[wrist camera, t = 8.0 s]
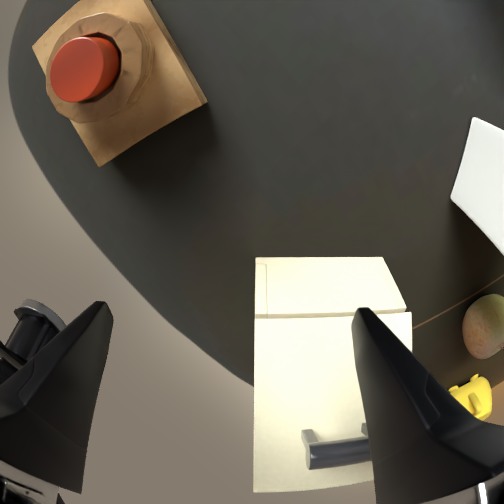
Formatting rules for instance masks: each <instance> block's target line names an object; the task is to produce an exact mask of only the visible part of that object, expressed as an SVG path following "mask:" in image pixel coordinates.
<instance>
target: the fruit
mask: <svg viewBox="0 0 504 504" xmlns="http://www.w3.org/2000/svg"><path fill="white" fill-rule="evenodd" d="M462 331H463V339H464V342H465V345H466V347H467V349H468V351H469V352H470V354H471V355H473V356H474V357H475V358H478V359H486V358H488V357H490V356H492V355H494V354H495V353H496V352H498V351H499V350H500V349H503V348H502V347H504V297H503V296H500V295H497V294H490V295H486V296H483V297H481V298H479V299H478V300H477V301H475V302H474V303H473V304H472V305H471V306H470V307H469V308H468V310H467V312H466V314H465V316H464V320H463V327H462ZM503 350H504V349H503Z"/></svg>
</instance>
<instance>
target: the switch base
mask: <svg viewBox="0 0 504 504" xmlns="http://www.w3.org/2000/svg"><path fill="white" fill-rule="evenodd" d="M79 37H95V38H103V39H106V40H108V41H109V42H111V43H112V44H113V45H114V47H115V48H116V50H117V53H118V57H119V68H118V72H117V75H116V77H115V79H114V81H113V83H112V84H111V86H110V87H109V88H108V89H107V90H106V91H105V92H103V93H102V94H100V95H98V96H96V97H93V98H89V99H86V100H83V101H80V102H76V103H69V102H66V101H63V100H61V99H60V98H59V97H58V96H57V95H56V94H55V93H54V91H53V89H52V87H51V83H50V68H51V64H52V61H53V59H54V57H55V55H56V54H57V52H58V51H59V49H60V48H61V47H62V46H63V45H65V44H66V43H67V42H69V41H70V40H72V39H75V38H79ZM32 48H33V50H34V52H35V55H36V57H37V59H38V61H39V63H40V65H41V67H42V69H43V71H44V73H45V75H46V90H47V94H48V95H49V97H50V99H51V101H52V103H53V105H54V106H55V108H56V110H57V112H58V113H60V114H61V115H63V116H65V117H67V118H69V119H70V121H71V122H72V124H73V126H74V127H75V129H76V131H77V132H78V134H79V136H80V137H81V139H82V141H83V142H84V144H85V146H86V147H87V149H88V151H89V152H90V154H91V155H92V157H93V159H94V160H95V162H96V163H97V165H98V166H99V168H100V167H102V166H103V165H104V164H106V163H107V162H109V161H110V160H112V159H113V158H114V157H116V156H117V155H119V154H120V153H122V152H123V151H125V150H126V149H128V148H129V147H131V146H132V145H134V144H136V143H137V142H139V141H140V140H142V139H144V138H145V137H147V136H148V135H150V134H152V133H153V132H155V131H157V130H158V129H160V128H162V127H163V126H165V125H167V124H169V123H170V122H172V121H174V120H176V119H178V118H179V117H181V116H183V115H185V114H187V113H189V112H190V111H192V110H194V109H196V108H198V107H200V106H202V105H203V104H205V103H206V102H207V100H206V98H205V96H204V94H203V92H202V90H201V89H200V87H199V85H198V83H197V81H196V80H195V78H194V76H193V74H192V72H191V71H190V69H189V67H188V65H187V63H186V62H185V60H184V58H183V56H182V54H181V53H180V51H179V49H178V47H177V46H176V44H175V42H174V40H173V39H172V37H171V35H170V33H169V32H168V30H167V28H166V27H165V25H164V23H163V21H162V20H161V18H160V16H159V15H158V13H157V11H156V10H155V8H154V6H153V4H152V3H151V1H150V0H80V1H79V2H78V3H77V4H76V5H74V6H73V7H72V8H71V9H70V10H69V11H68V12H66V13H65V14H64V15H63V16H62V17H61V18H60V19H59V20H58V21H57V22H56V23H55V24H54V25H53V26H52V27H51V28H50V29H49V30H48V31H47V32H46V33H45V34H44V35H43V36H42V37H41V38H40V39H39V40H38V41H37V42H36V43H35V44H34V46H33V47H32Z"/></svg>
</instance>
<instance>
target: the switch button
mask: <svg viewBox="0 0 504 504" xmlns="http://www.w3.org/2000/svg"><path fill="white" fill-rule="evenodd" d="M118 68H119V57H118V53H117V50H116V48H115V47H114V45H113V44H112V43H111V42H109V41H108V40H106V39H103V38H95V37H79V38H75V39H72V40H70V41H69V42H67V43H66V44H65V45H63V46H62V47H61V48H60V49H59V51H58V52H57V54H56V55H55V57H54V59H53V61H52V64H51V68H50V83H51V87H52V89H53V91H54V93H55V94H56V95H57V96H58V97H59V98H60V99H61V100H63V101H66V102H69V103H76V102H80V101H83V100H86V99H89V98H93V97H96V96H98V95H100V94H102V93H103V92H105V91H106V90H107V89H108V88H109V87H110V86H111V84H112V83H113V81H114V79H115V77H116V75H117V72H118Z"/></svg>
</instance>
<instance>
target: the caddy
mask: <svg viewBox="0 0 504 504" xmlns="http://www.w3.org/2000/svg"><path fill="white" fill-rule="evenodd" d="M359 307H369V308H370V309H371V310H372V311H373V312H374V313H375V314H376V315H379V314H392V313H404V312H405V310H406V305H405V303H404V301H403V298H402V296H401V294H400V292H399V290H398V288H397V286H396V283H395V281H394V279H393V277H392V275H391V273H390V271H389V269H388V267H387V265H386V263H385V261H384V259H383V257H256V265H255V319H282V318H323V317H346V316H354V315H355V312H356V310H357V308H359Z"/></svg>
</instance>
